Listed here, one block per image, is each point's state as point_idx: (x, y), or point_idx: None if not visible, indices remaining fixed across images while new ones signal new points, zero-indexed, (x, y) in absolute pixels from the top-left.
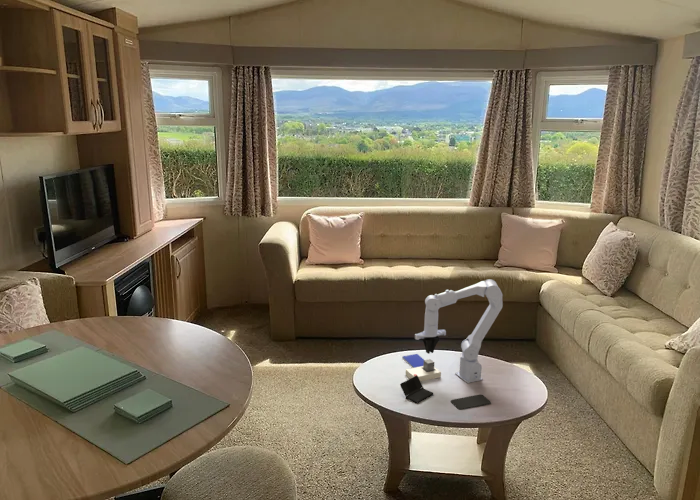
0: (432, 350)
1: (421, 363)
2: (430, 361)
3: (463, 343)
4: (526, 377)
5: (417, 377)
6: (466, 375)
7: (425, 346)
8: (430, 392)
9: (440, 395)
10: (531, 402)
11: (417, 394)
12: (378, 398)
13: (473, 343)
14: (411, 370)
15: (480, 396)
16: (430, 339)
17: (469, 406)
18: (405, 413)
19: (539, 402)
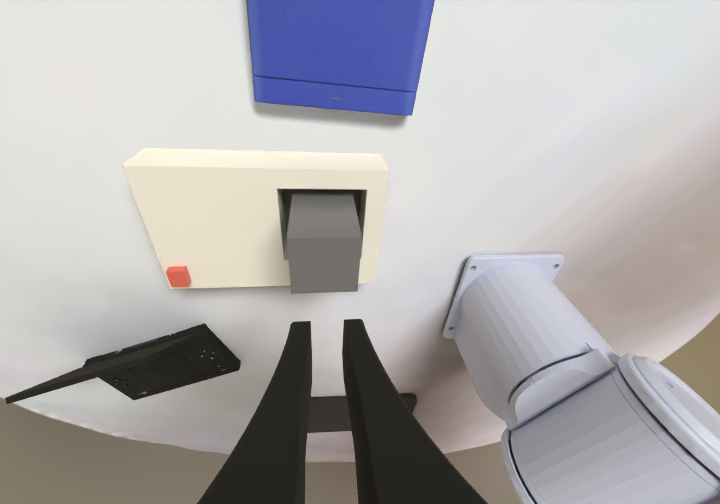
0: (345, 385)
1: (359, 47)
2: (334, 273)
3: (653, 467)
4: (658, 350)
5: (156, 356)
6: (467, 338)
7: (277, 387)
8: (225, 365)
9: (268, 371)
10: (503, 431)
11: (152, 366)
12: None
13: None
14: (173, 200)
15: None
16: (371, 501)
17: (325, 429)
18: (69, 422)
19: None
